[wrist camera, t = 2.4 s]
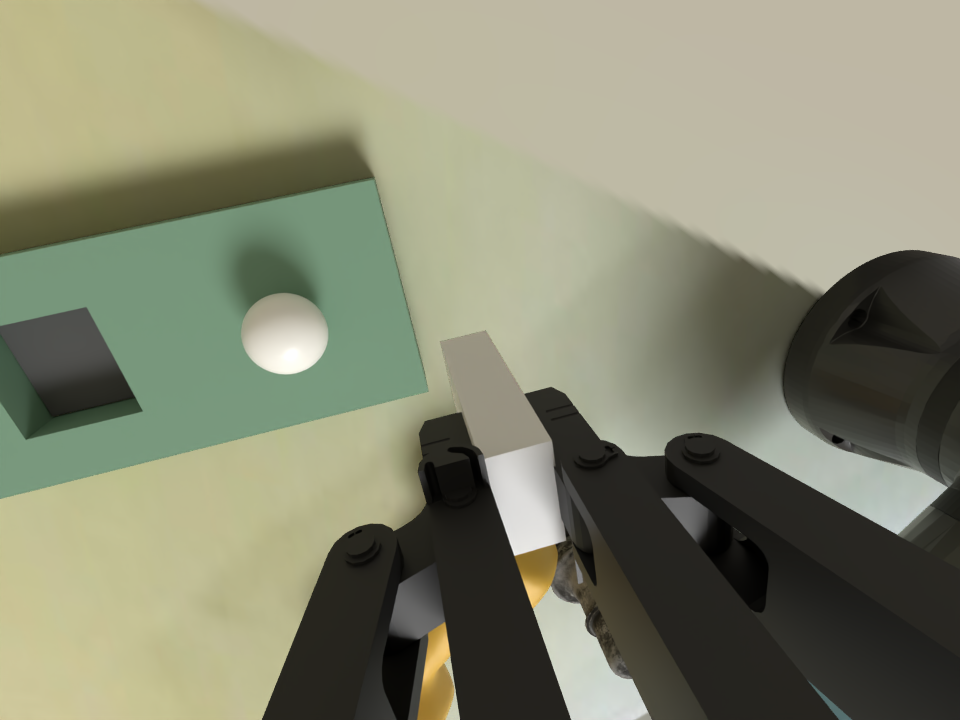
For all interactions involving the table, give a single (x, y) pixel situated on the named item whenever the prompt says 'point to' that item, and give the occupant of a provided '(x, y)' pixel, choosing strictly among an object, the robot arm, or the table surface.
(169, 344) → the green
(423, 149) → the table surface
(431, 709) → the dumbbell
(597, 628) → the dark grey chess piece
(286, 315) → the ball
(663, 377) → the table surface
